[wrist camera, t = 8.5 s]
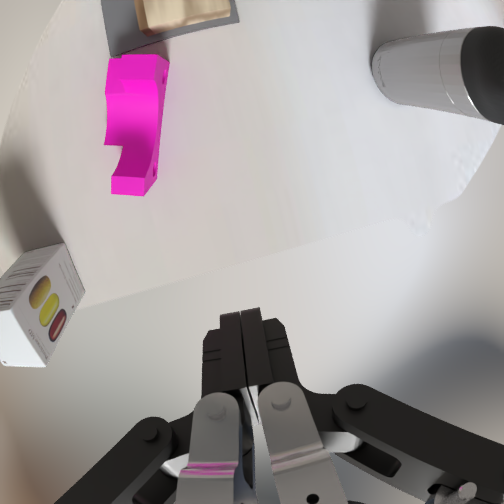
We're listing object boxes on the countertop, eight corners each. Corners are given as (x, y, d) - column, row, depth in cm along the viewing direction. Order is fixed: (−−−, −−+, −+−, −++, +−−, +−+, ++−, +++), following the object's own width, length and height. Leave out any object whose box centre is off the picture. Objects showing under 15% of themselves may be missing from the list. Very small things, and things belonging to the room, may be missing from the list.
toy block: (121, 62, 30) (99, 55, 24) (169, 62, 31) (157, 54, 24) (112, 175, 37) (90, 192, 30) (157, 178, 38) (143, 196, 31)
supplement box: (87, 293, 45) (48, 370, 30) (45, 299, 44) (4, 368, 30) (64, 240, 40) (9, 309, 25) (23, 250, 40) (-33, 313, 25)
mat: (225, -35, 25) (225, -36, 25) (239, 22, 29) (239, 21, 29) (101, 0, 25) (100, -1, 25) (111, 57, 29) (110, 57, 29)
